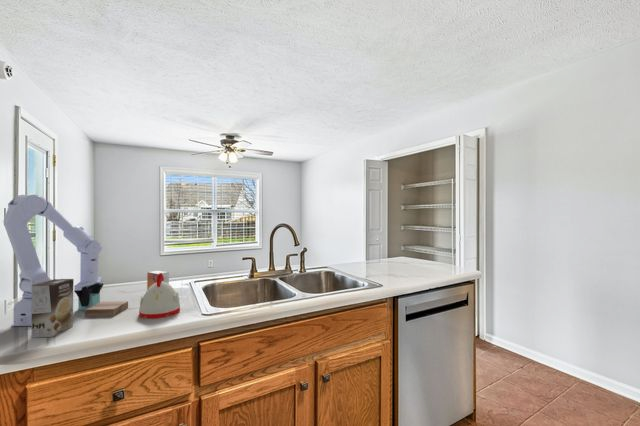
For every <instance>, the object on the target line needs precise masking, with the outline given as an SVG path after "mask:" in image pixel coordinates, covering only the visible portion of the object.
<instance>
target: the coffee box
mask: <svg viewBox="0 0 640 426" xmlns="http://www.w3.org/2000/svg"><path fill="white" fill-rule="evenodd" d="M73 326H74V278H60V279H59V278H56V279H51V280H50V281H46V282H42V283H38V284H35V285H32V322H31V327H30V328H31V330H30V334H31V335H30V337H31V338H52V337H55V336H57V335H58V334H61V333H62V332H65V331H66V330H69V329H71V328H72V327H73Z"/></svg>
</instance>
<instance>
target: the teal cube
mask: <svg viewBox="0 0 640 426" xmlns="http://www.w3.org/2000/svg"><path fill="white" fill-rule="evenodd" d="M77 298H78V297H77ZM77 300H78V309H77V310H79V311H81V310H82V311H85V309H87V308H90V307H92V306H94V305H96V304H98V303H100V302H101V301H100V300H101V292H100V293H94V294H90V298H89V305H88V306H85V307H82V306H81V303H80V300H79V298H78V299H77Z"/></svg>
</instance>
